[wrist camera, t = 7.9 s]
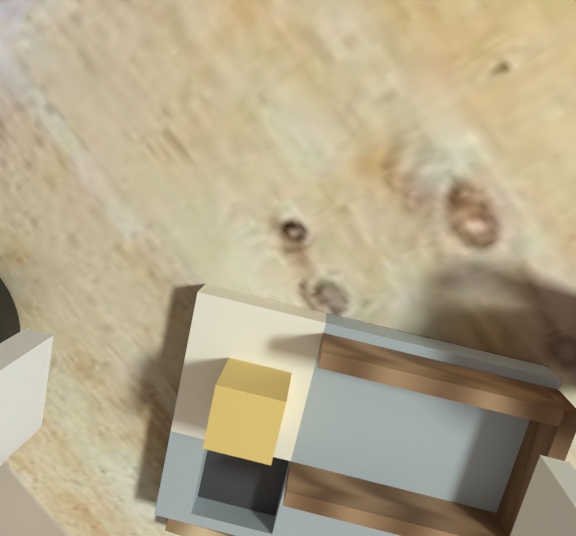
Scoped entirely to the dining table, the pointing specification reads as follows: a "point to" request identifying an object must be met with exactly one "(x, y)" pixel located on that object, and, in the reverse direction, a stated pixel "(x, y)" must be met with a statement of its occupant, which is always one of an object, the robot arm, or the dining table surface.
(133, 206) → the dining table surface
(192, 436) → the board
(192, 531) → the crook tool
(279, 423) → the block
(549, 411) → the cubby
